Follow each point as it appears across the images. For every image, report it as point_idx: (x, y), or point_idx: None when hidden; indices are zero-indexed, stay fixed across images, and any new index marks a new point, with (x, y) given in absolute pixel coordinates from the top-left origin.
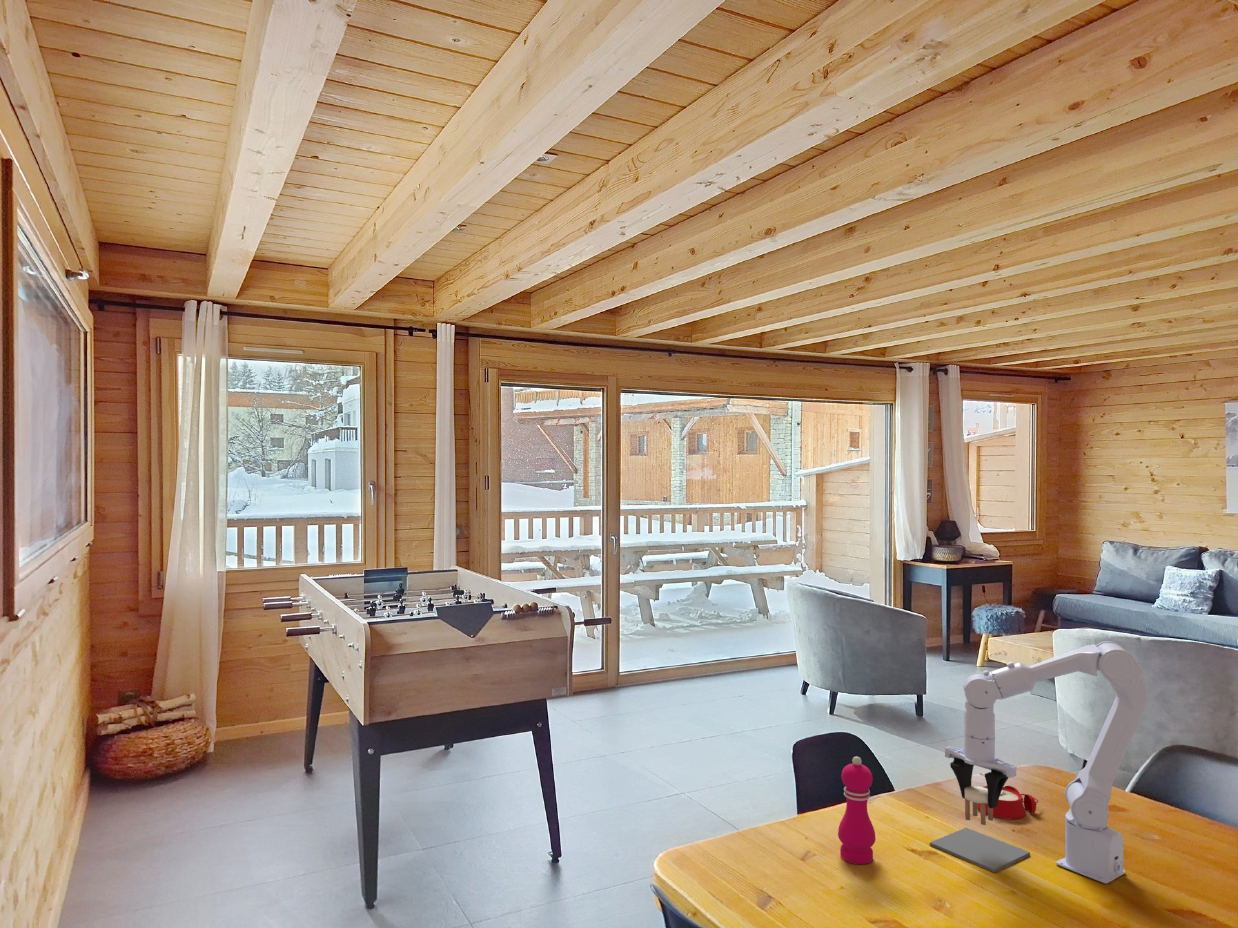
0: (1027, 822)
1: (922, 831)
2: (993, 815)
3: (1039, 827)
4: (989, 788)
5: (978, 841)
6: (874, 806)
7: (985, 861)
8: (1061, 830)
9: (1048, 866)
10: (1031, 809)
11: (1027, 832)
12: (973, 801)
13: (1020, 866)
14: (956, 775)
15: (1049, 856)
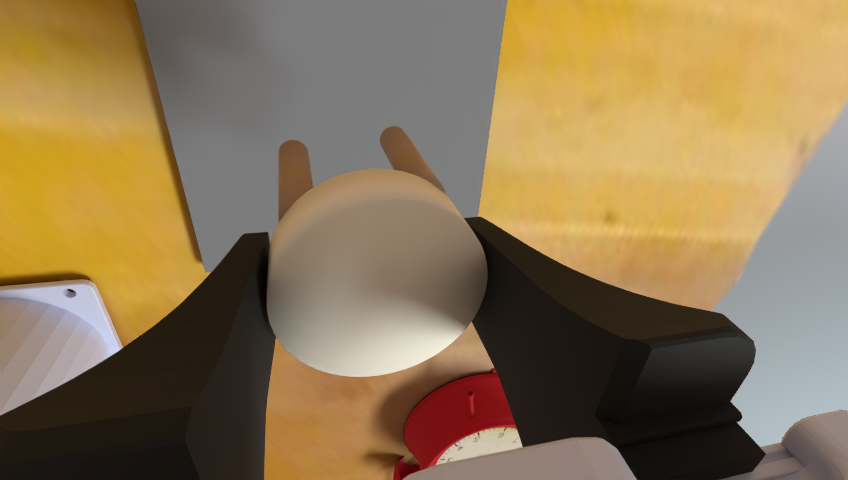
0: (378, 422)
1: (580, 92)
2: (460, 381)
3: (339, 425)
4: (209, 320)
5: None
6: (783, 132)
7: (222, 20)
8: (292, 455)
9: (93, 244)
10: (413, 472)
11: (337, 381)
12: (353, 174)
13: (138, 147)
14: (600, 286)
15: (167, 312)
